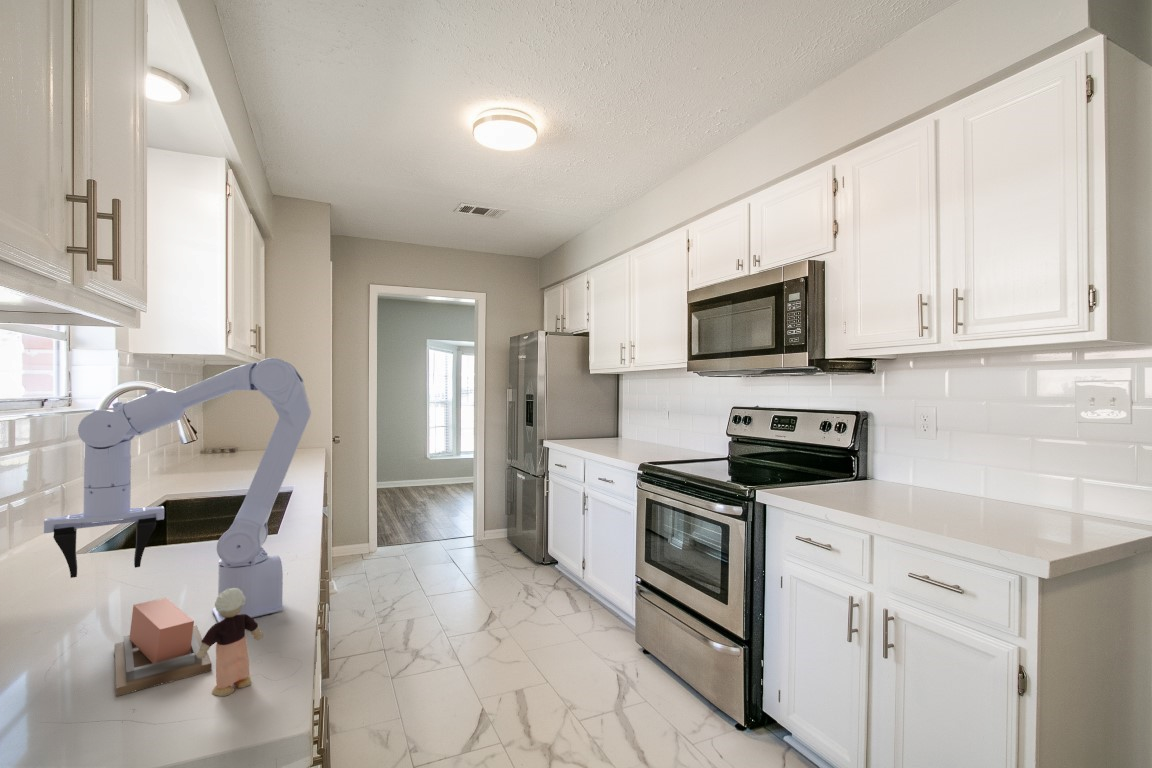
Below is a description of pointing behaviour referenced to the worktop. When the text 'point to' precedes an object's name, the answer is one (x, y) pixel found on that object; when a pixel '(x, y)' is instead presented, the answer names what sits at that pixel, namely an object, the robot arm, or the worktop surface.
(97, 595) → the worktop surface
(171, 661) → the cradle
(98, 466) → the robot arm
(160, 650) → the block
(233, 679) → the grandmother figurine
